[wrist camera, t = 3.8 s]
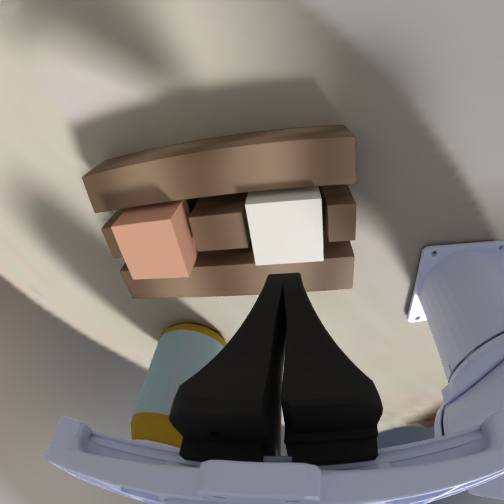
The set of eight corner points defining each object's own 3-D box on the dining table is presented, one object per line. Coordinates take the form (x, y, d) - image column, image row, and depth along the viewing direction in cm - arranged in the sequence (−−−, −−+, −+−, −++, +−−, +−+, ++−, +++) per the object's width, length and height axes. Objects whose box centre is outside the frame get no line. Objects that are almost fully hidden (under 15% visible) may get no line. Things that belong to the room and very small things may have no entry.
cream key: (316, 177, 18) (321, 198, 16) (319, 233, 20) (323, 260, 18) (250, 183, 19) (244, 204, 16) (259, 238, 21) (255, 265, 18)
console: (344, 125, 17) (354, 137, 14) (345, 261, 22) (352, 288, 20) (104, 160, 19) (81, 177, 17) (145, 273, 25) (132, 298, 22)
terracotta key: (185, 195, 19) (170, 219, 16) (200, 248, 21) (189, 277, 18) (130, 203, 19) (110, 226, 17) (148, 253, 22) (133, 279, 19)
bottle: (156, 315, 28) (101, 462, 16) (229, 323, 27) (197, 487, 15) (169, 358, 32) (132, 484, 20) (232, 366, 31) (210, 501, 19)
